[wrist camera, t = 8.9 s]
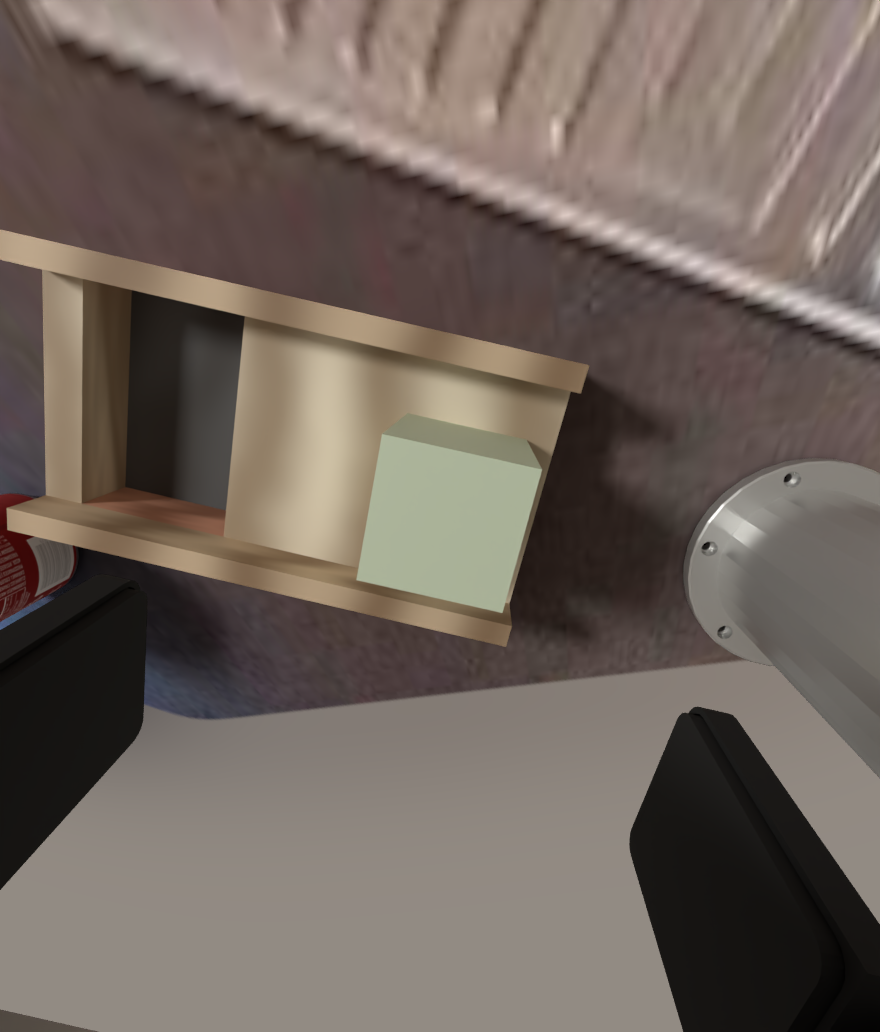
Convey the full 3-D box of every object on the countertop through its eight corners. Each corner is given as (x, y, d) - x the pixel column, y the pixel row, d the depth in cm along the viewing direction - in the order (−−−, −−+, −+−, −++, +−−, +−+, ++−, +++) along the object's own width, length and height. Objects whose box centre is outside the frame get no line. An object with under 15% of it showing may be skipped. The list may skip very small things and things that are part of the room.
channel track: (565, 362, 28) (589, 365, 22) (501, 591, 33) (505, 646, 26) (100, 255, 29) (-5, 228, 22) (96, 496, 33) (7, 529, 27)
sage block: (526, 439, 26) (542, 469, 19) (497, 550, 28) (502, 612, 21) (407, 413, 26) (382, 433, 19) (386, 525, 28) (356, 580, 21)
